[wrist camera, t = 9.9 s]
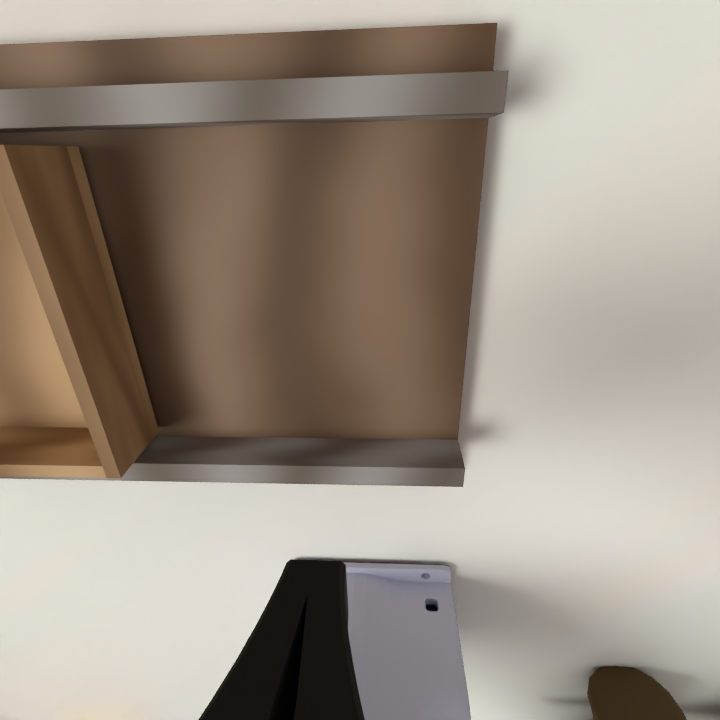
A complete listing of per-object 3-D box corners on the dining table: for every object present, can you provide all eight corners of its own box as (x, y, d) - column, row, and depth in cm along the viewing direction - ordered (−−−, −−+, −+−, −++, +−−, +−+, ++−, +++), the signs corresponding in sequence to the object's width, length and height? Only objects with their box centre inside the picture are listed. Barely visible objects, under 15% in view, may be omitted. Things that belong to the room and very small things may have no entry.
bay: (489, 31, 14) (558, -48, 8) (450, 467, 22) (472, 571, 16) (-245, 62, 15) (-592, 12, 10) (-30, 460, 23) (-156, 553, 18)
